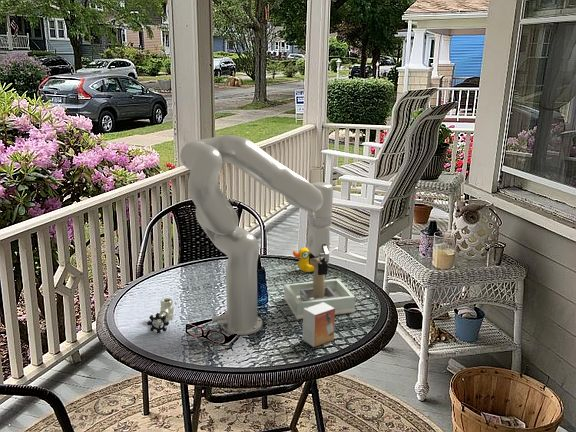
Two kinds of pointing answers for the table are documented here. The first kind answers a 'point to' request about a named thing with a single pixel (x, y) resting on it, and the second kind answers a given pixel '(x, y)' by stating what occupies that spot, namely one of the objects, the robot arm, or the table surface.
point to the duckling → (304, 260)
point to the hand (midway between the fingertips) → (317, 269)
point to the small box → (318, 324)
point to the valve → (162, 315)
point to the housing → (334, 296)
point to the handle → (317, 280)
